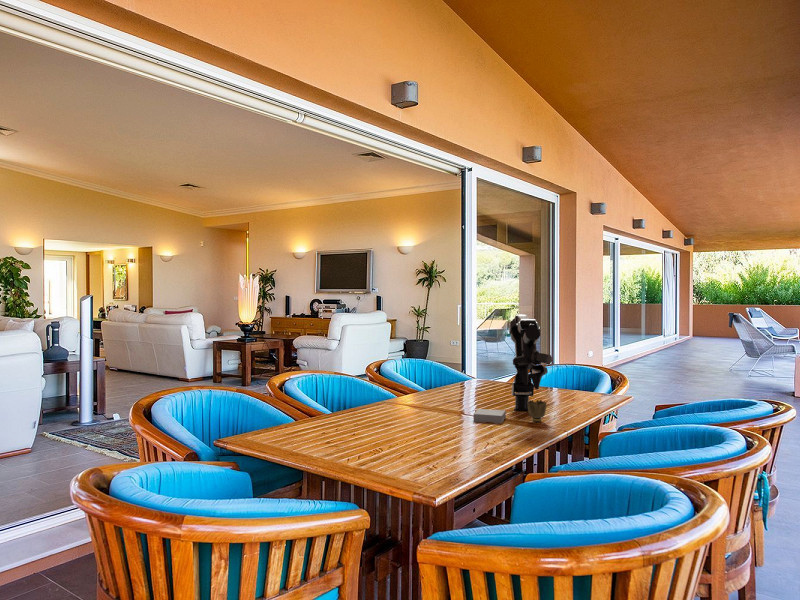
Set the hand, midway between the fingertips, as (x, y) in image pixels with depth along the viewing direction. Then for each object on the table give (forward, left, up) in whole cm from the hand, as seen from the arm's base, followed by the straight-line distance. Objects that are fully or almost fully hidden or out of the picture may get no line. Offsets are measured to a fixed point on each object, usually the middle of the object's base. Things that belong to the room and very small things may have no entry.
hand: (531, 386), depth 223 cm
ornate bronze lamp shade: (-1, +2, -14) cm, 14 cm away
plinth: (+1, -16, -14) cm, 21 cm away
